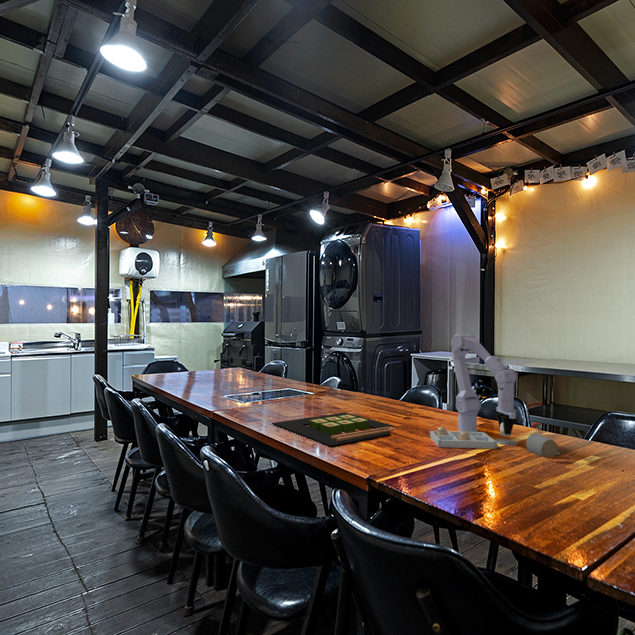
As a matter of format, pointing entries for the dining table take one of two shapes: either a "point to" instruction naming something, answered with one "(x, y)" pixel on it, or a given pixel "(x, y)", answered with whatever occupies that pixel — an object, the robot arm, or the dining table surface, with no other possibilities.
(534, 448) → the ceramic mug
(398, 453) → the dining table surface
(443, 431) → the brown egg
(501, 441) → the grey round disc
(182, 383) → the dining table surface
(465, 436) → the brown egg
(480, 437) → the egg carton
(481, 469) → the dining table surface
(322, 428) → the sushi set
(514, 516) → the dining table surface
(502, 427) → the cream egg
